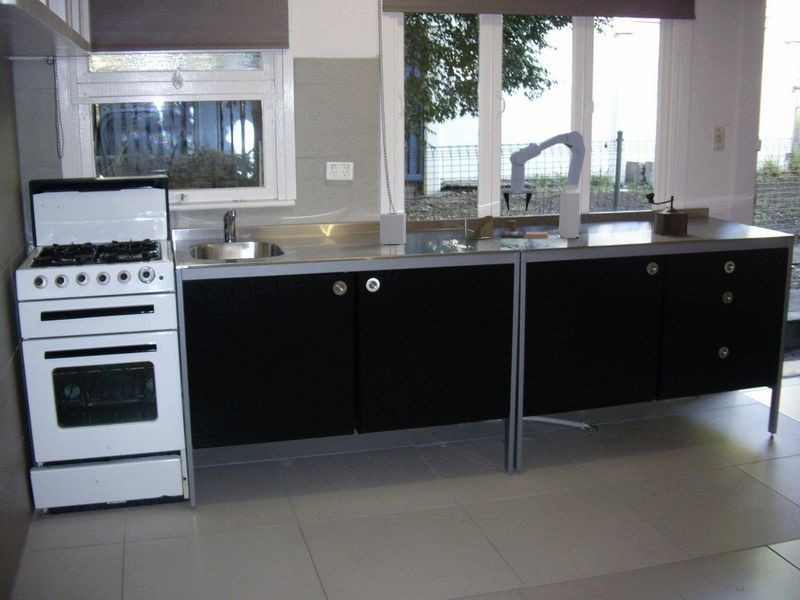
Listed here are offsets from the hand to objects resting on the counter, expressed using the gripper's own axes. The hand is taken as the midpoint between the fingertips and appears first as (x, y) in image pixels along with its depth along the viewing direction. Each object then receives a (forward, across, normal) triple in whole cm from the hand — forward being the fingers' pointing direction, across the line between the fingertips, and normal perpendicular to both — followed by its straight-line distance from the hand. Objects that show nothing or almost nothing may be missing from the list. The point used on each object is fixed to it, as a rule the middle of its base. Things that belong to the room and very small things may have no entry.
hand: (517, 210), depth 380 cm
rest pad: (+10, -2, -10) cm, 15 cm away
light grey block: (+10, -49, -38) cm, 63 cm away
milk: (+10, +22, -13) cm, 27 cm away
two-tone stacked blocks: (+9, -2, -10) cm, 14 cm away
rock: (+10, -14, -19) cm, 26 cm away
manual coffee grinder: (+10, +63, +2) cm, 64 cm away
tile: (+9, +8, -9) cm, 16 cm away
